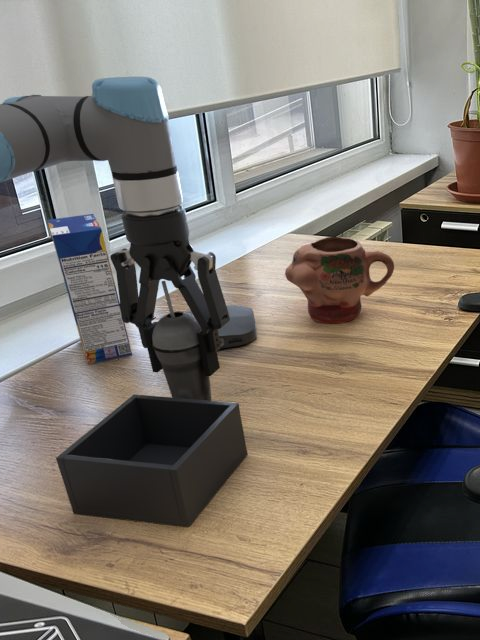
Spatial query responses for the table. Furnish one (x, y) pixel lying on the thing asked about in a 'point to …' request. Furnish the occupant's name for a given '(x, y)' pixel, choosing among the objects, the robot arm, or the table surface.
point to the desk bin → (154, 460)
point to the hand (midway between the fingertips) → (186, 369)
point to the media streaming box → (237, 327)
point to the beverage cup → (181, 354)
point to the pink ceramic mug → (335, 277)
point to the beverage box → (90, 287)
